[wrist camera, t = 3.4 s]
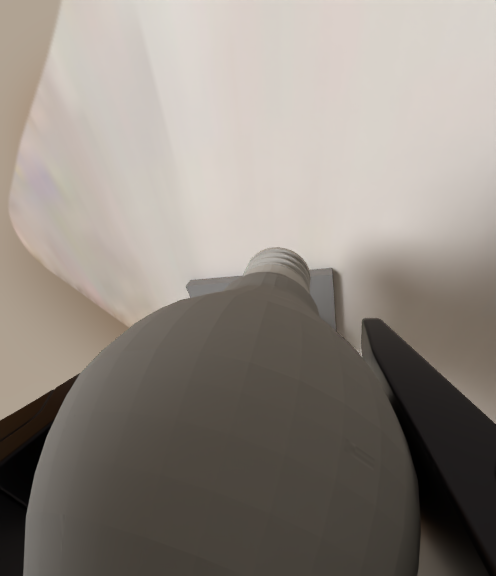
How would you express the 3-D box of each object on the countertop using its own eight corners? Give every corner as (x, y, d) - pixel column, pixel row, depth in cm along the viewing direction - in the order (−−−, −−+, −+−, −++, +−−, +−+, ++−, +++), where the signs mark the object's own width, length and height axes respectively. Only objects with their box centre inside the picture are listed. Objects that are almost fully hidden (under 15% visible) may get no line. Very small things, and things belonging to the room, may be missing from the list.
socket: (331, 268, 19) (334, 298, 16) (339, 376, 25) (342, 415, 22) (190, 280, 23) (168, 306, 20) (225, 372, 29) (213, 404, 25)
